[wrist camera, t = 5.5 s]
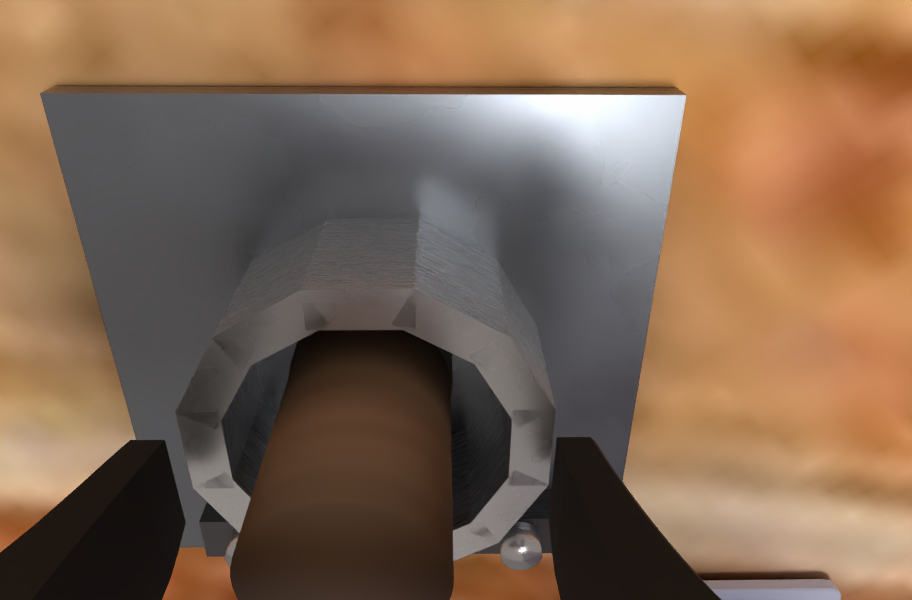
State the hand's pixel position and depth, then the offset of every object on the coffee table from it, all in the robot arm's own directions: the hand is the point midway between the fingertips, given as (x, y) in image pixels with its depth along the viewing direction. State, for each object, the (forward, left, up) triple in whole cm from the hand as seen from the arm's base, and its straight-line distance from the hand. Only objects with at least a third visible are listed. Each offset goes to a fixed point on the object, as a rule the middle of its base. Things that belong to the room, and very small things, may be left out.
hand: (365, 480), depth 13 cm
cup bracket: (0, 0, -4) cm, 4 cm away
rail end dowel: (0, 0, -4) cm, 4 cm away
